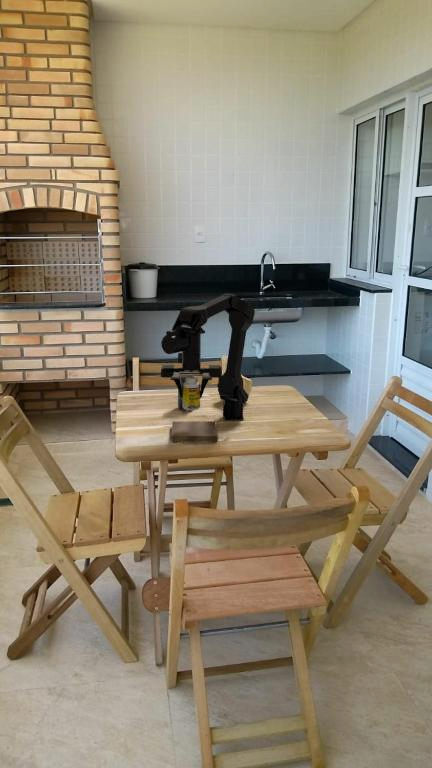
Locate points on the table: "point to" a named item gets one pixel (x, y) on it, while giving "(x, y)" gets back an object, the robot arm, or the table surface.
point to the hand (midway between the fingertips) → (191, 397)
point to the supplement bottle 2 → (191, 393)
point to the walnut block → (194, 431)
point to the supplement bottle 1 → (180, 400)
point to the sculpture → (246, 385)
